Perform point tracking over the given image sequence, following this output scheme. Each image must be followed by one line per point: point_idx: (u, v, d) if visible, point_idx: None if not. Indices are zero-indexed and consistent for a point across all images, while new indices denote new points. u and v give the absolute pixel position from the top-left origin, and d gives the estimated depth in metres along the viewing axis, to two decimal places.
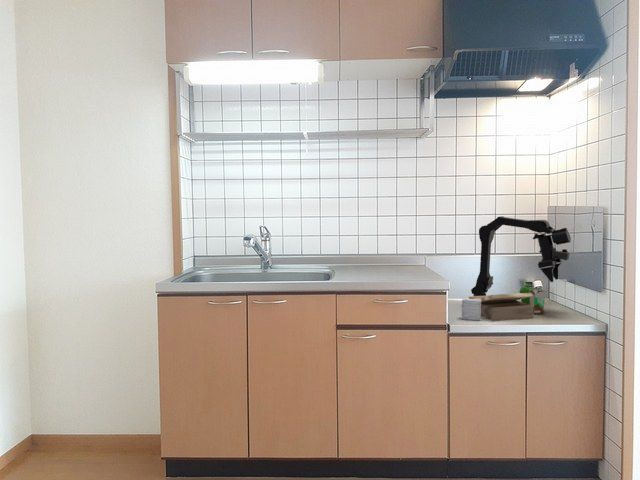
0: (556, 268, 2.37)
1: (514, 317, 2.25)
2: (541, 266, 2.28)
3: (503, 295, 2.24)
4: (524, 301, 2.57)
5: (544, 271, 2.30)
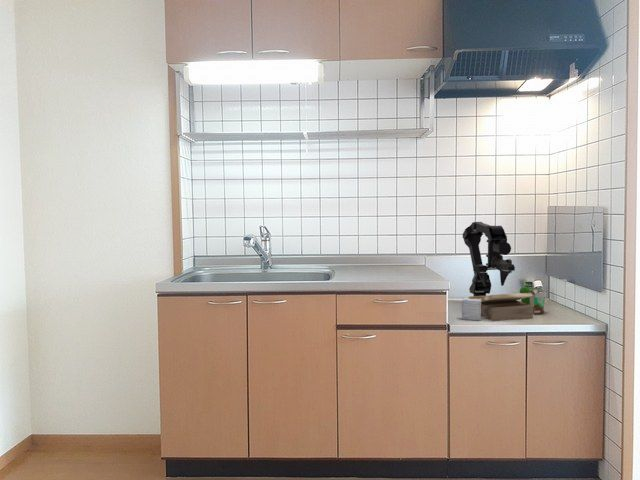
0: (504, 275, 2.40)
1: (514, 317, 2.25)
2: (474, 269, 2.38)
3: (503, 295, 2.24)
4: (524, 301, 2.57)
5: (479, 275, 2.39)
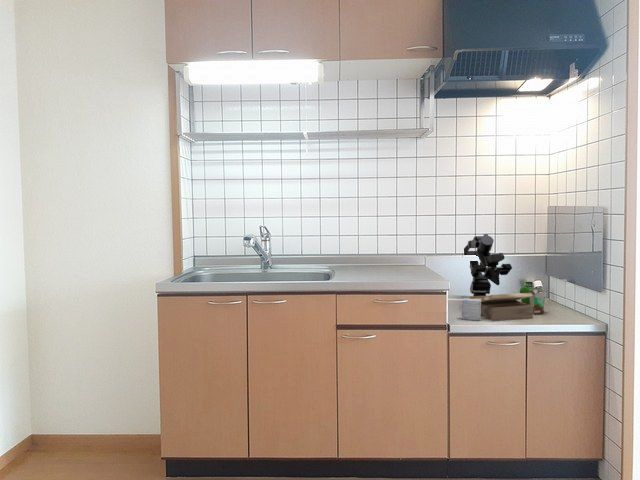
0: (495, 274, 2.38)
1: (514, 317, 2.25)
2: (472, 274, 2.39)
3: (503, 295, 2.24)
4: (524, 301, 2.57)
5: (488, 277, 2.40)
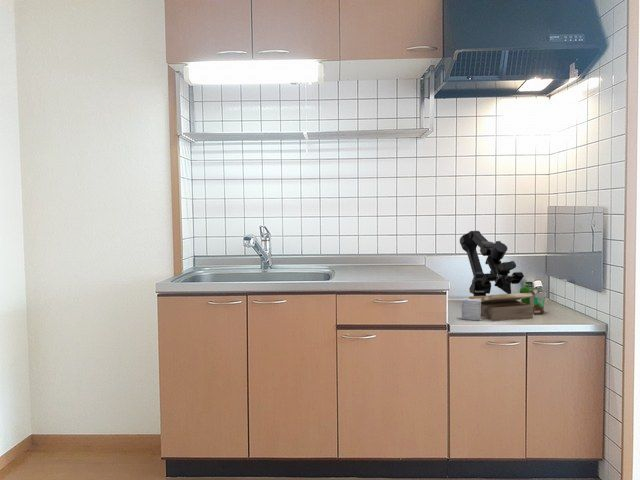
0: (507, 283, 2.29)
1: (514, 317, 2.25)
2: (482, 282, 2.31)
3: (503, 295, 2.24)
4: (524, 301, 2.57)
5: (499, 286, 2.31)
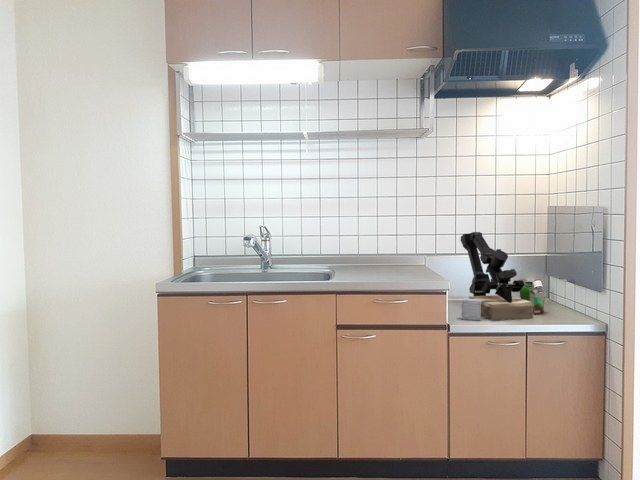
0: (508, 291, 2.29)
1: (514, 317, 2.25)
2: (483, 291, 2.30)
3: (504, 305, 2.24)
4: None
5: (500, 294, 2.31)
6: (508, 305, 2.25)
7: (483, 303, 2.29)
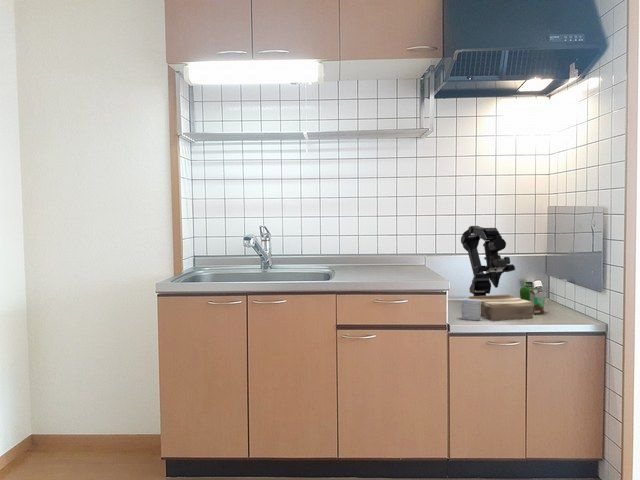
0: (496, 276, 2.37)
1: (514, 317, 2.25)
2: (473, 271, 2.38)
3: (504, 305, 2.24)
4: None
5: (489, 276, 2.39)
6: (508, 305, 2.25)
7: (483, 303, 2.29)
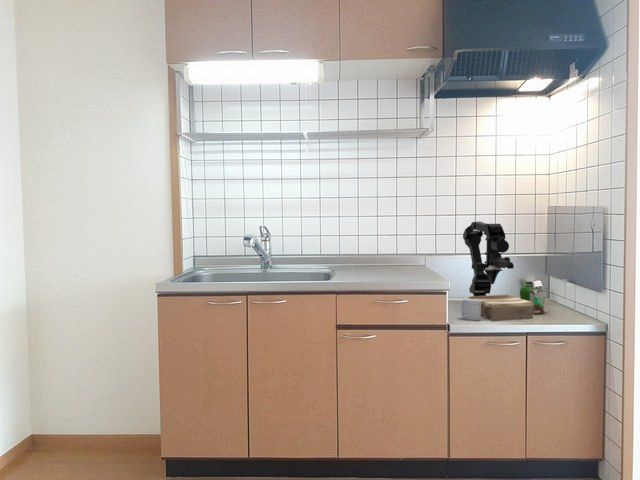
0: (494, 273, 2.39)
1: (514, 317, 2.25)
2: (472, 267, 2.39)
3: (504, 305, 2.24)
4: None
5: (486, 272, 2.41)
6: (508, 305, 2.25)
7: (483, 303, 2.29)
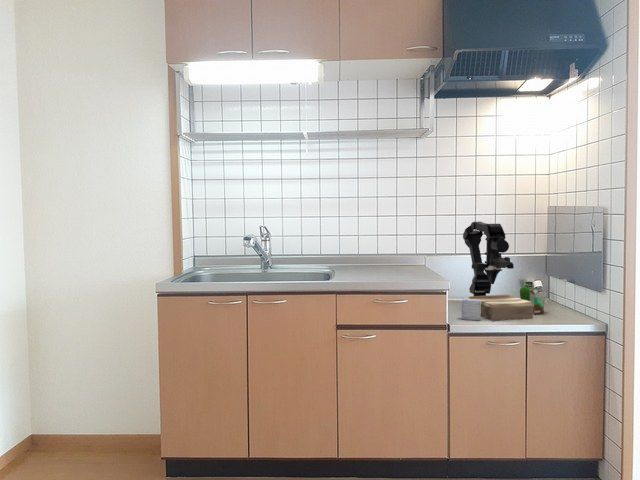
0: (494, 273, 2.39)
1: (514, 317, 2.25)
2: (472, 267, 2.39)
3: (504, 305, 2.24)
4: None
5: (486, 272, 2.41)
6: (508, 305, 2.25)
7: (483, 303, 2.29)
